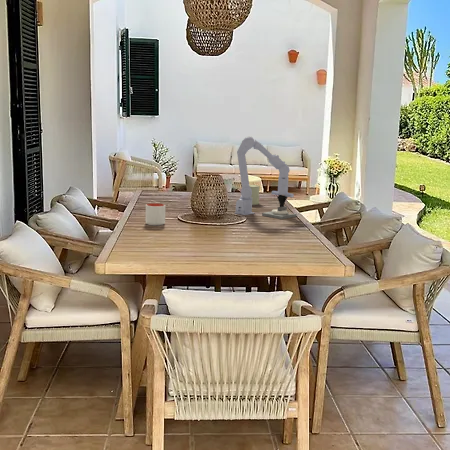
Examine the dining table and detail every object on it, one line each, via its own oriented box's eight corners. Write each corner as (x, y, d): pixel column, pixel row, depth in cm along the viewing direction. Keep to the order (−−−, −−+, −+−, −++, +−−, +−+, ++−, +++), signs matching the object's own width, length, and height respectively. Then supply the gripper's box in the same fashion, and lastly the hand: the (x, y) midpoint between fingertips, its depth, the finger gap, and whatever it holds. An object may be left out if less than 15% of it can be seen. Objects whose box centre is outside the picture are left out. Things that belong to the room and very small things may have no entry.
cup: (141, 224, 309) (141, 205, 307) (152, 221, 318) (153, 202, 316) (157, 226, 305) (158, 207, 303) (168, 223, 313) (169, 204, 311)
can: (259, 205, 386) (260, 186, 383) (244, 204, 386) (245, 185, 384) (258, 202, 395) (259, 184, 393) (244, 202, 395) (245, 183, 393)
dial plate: (281, 219, 339) (281, 216, 339) (262, 215, 348) (262, 212, 348) (296, 216, 349) (296, 213, 349) (277, 213, 358) (277, 210, 358)
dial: (281, 215, 342) (282, 209, 342) (268, 213, 348) (268, 207, 347) (292, 213, 351) (292, 207, 350) (279, 211, 356) (279, 205, 355)
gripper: (297, 186, 347) (295, 209, 350) (277, 183, 356) (275, 205, 359) (290, 186, 342) (288, 210, 344) (269, 183, 351) (268, 207, 354)
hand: (281, 208), depth 351 cm, fingers closed, pressing on dial
